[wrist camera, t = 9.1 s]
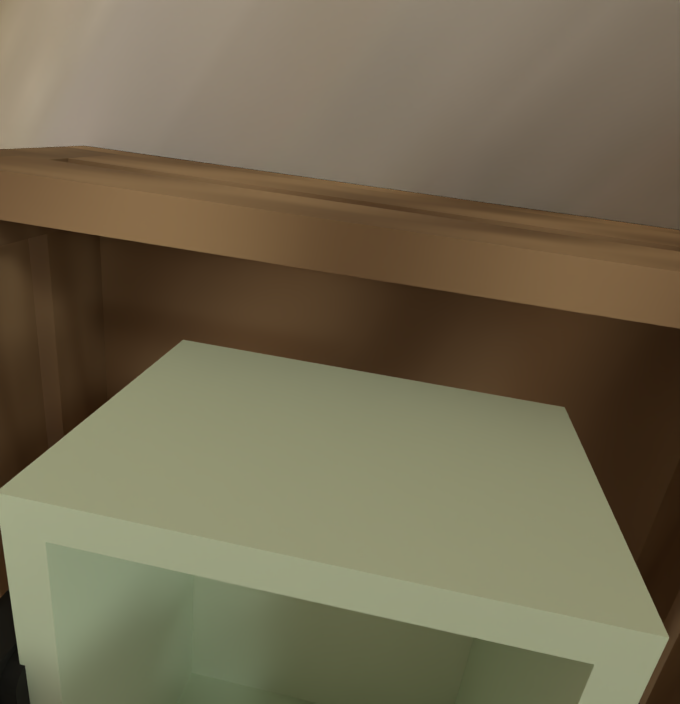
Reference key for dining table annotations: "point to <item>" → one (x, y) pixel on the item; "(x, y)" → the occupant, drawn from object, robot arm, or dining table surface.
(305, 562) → the small crate
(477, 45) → the dining table surface
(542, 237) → the large crate
